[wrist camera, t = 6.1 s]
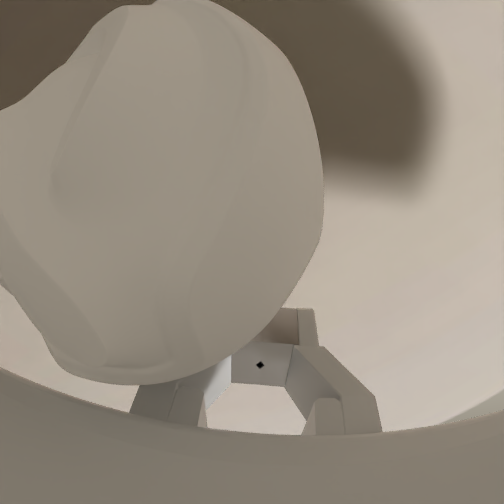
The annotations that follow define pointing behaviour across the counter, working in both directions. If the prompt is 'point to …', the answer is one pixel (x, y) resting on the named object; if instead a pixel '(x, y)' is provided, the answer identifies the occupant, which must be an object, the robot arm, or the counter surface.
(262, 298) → the white sculpted ball
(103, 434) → the robot arm
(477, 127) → the counter surface
